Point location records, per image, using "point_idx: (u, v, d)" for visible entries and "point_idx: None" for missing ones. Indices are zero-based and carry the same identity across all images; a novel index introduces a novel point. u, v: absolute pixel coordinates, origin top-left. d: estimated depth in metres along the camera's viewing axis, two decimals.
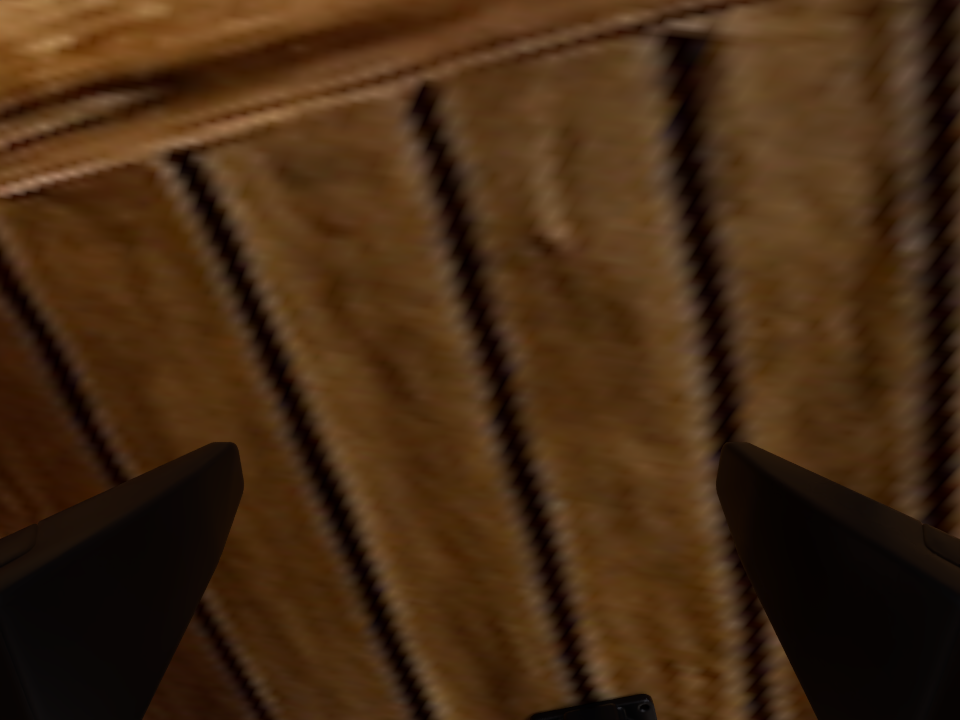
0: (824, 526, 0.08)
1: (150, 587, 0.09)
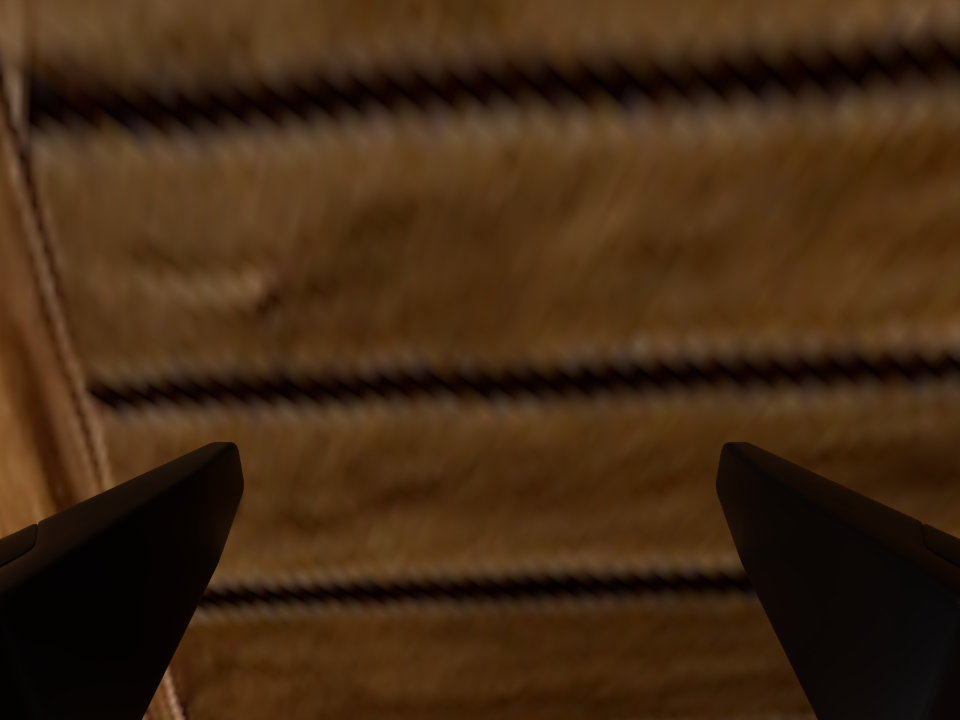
0: (824, 526, 0.08)
1: (150, 587, 0.09)
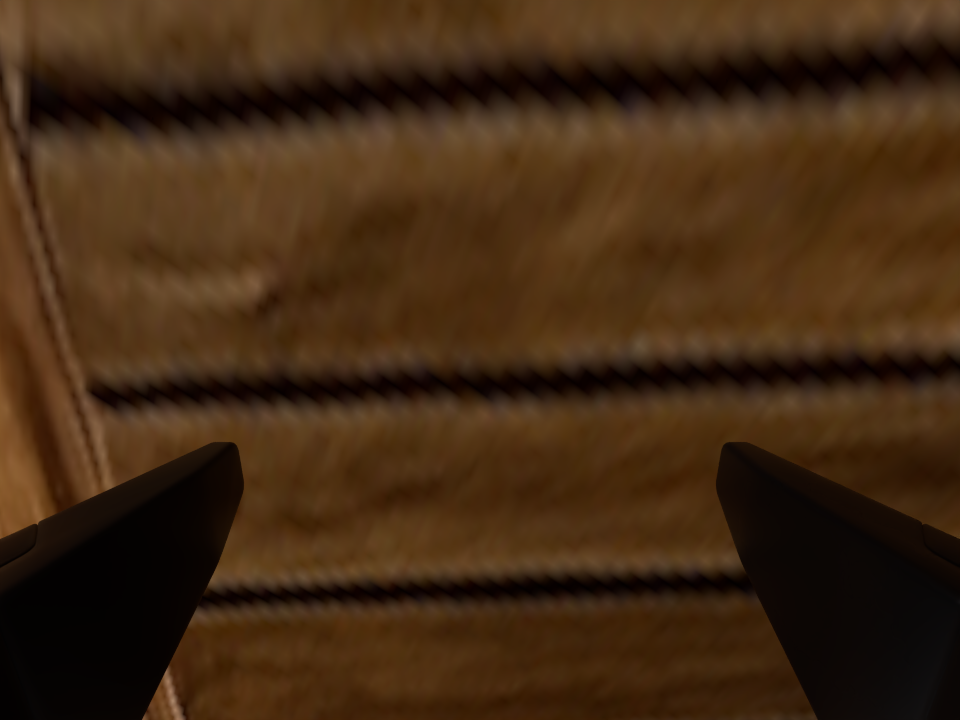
0: (824, 526, 0.08)
1: (150, 587, 0.09)
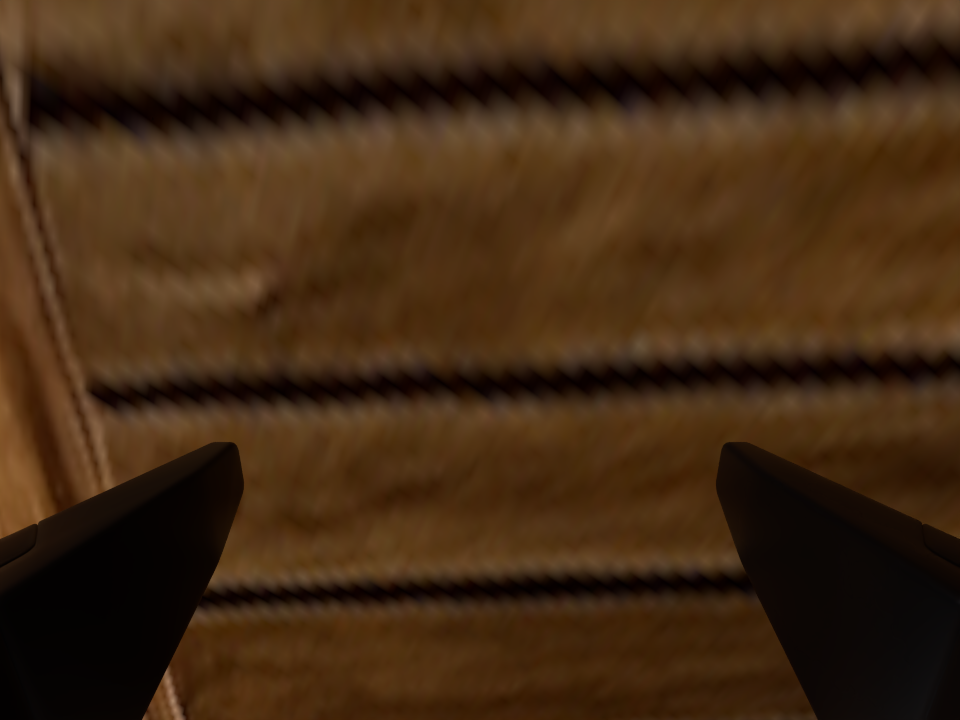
0: (824, 526, 0.08)
1: (150, 587, 0.09)
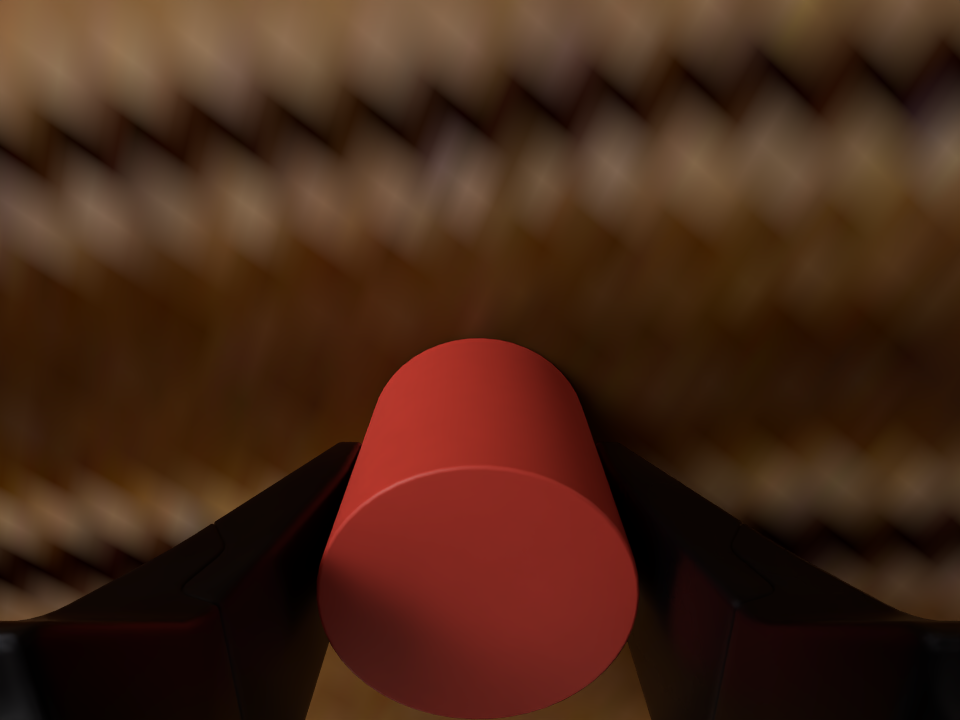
0: (651, 526, 0.08)
1: (313, 587, 0.09)
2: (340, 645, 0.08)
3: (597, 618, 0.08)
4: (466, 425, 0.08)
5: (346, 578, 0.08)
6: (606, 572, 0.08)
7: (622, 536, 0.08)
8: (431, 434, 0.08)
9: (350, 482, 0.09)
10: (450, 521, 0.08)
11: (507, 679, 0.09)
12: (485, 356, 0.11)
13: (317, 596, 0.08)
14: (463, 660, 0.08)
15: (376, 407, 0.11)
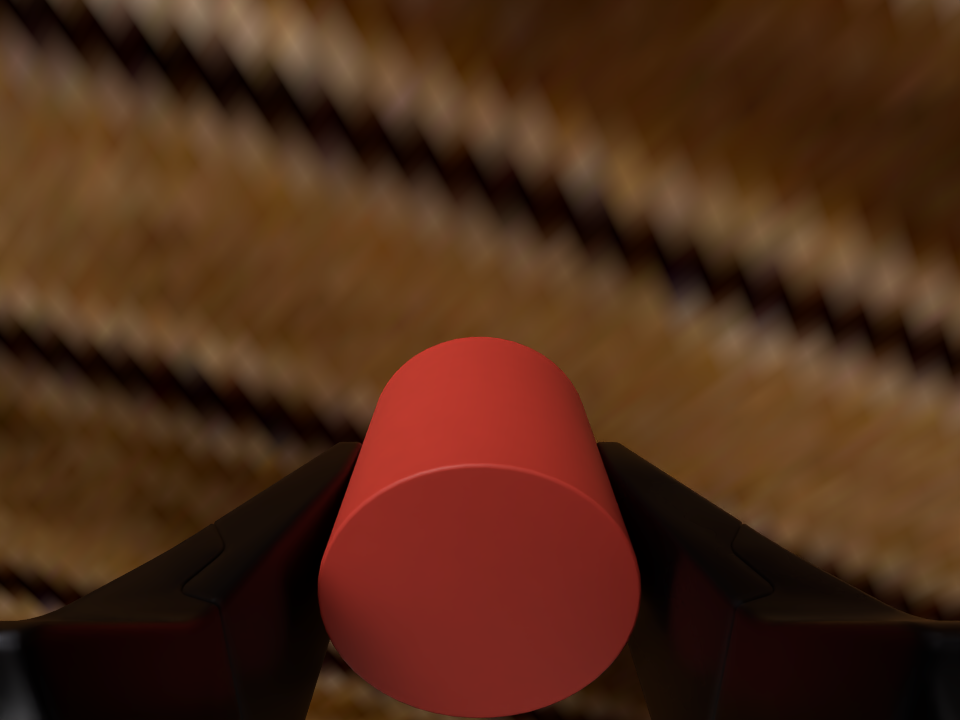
0: (651, 526, 0.08)
1: (312, 587, 0.09)
2: (341, 643, 0.08)
3: (599, 616, 0.08)
4: (468, 423, 0.08)
5: (347, 576, 0.08)
6: (608, 570, 0.08)
7: (624, 534, 0.08)
8: (433, 432, 0.08)
9: (351, 480, 0.09)
10: (453, 519, 0.08)
11: (509, 678, 0.09)
12: (486, 354, 0.11)
13: (318, 594, 0.08)
14: (464, 658, 0.08)
15: (377, 405, 0.11)
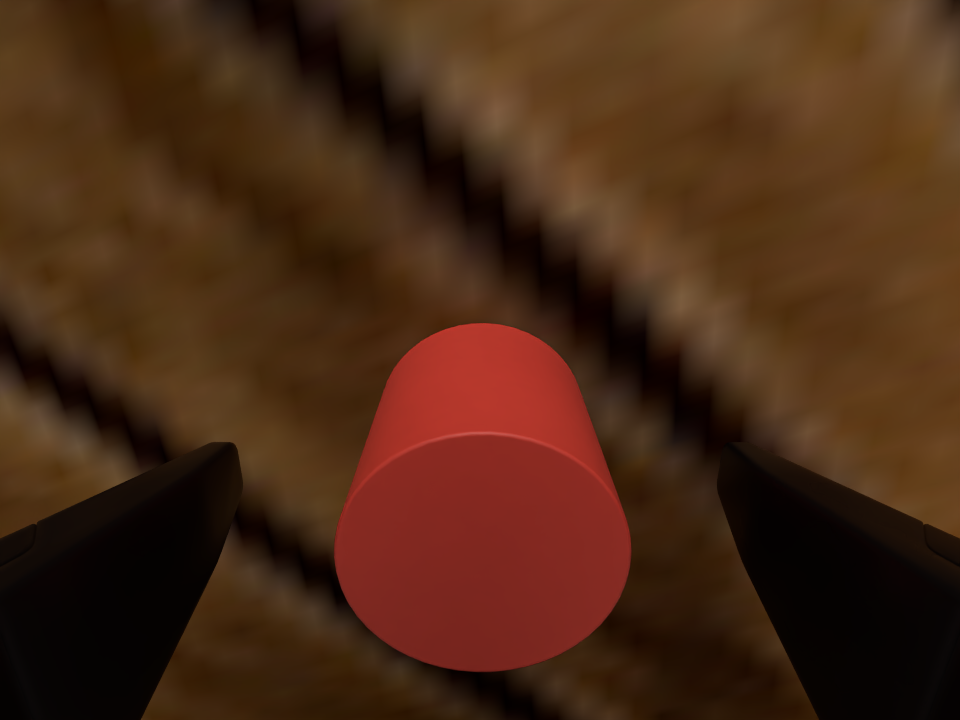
0: (825, 526, 0.08)
1: (149, 587, 0.09)
2: (355, 601, 0.09)
3: (592, 575, 0.09)
4: (471, 398, 0.09)
5: (362, 537, 0.09)
6: (600, 531, 0.09)
7: (615, 497, 0.08)
8: (440, 406, 0.09)
9: (364, 452, 0.10)
10: (458, 484, 0.08)
11: (510, 633, 0.09)
12: (488, 339, 0.11)
13: (335, 554, 0.09)
14: (469, 615, 0.09)
15: (385, 388, 0.12)
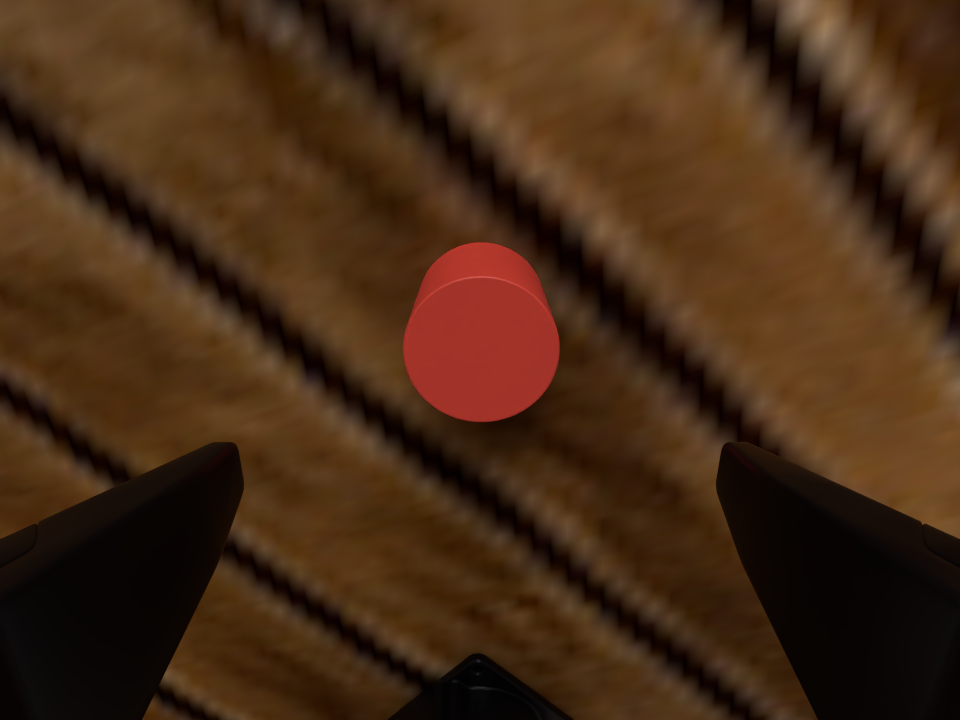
0: (824, 526, 0.08)
1: (150, 587, 0.09)
2: (413, 376, 0.17)
3: (539, 360, 0.17)
4: (475, 266, 0.17)
5: (418, 336, 0.17)
6: (543, 333, 0.17)
7: (549, 314, 0.16)
8: (459, 271, 0.17)
9: (416, 301, 0.17)
10: (469, 305, 0.16)
11: (496, 396, 0.17)
12: (485, 248, 0.19)
13: (403, 348, 0.17)
14: (474, 385, 0.17)
15: (423, 280, 0.20)
